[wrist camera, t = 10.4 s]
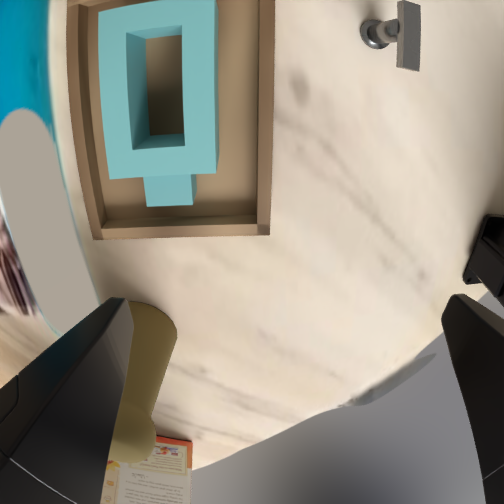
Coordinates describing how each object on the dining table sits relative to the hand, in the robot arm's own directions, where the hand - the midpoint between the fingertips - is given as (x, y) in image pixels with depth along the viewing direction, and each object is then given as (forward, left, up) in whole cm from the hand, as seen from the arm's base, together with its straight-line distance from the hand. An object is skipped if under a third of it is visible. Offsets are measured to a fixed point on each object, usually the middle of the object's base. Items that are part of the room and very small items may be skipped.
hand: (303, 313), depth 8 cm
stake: (-6, -9, -12) cm, 16 cm away
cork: (+10, +12, -12) cm, 20 cm away
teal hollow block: (+5, -4, -11) cm, 13 cm away
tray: (+5, -4, -12) cm, 13 cm away
